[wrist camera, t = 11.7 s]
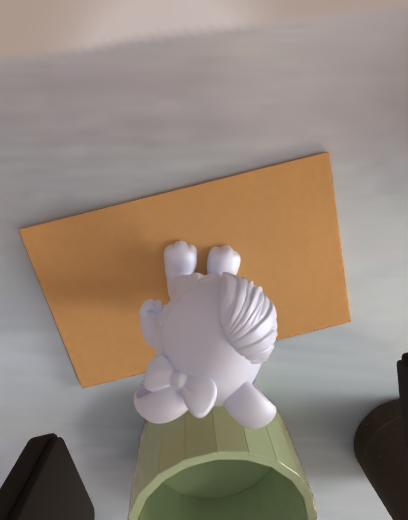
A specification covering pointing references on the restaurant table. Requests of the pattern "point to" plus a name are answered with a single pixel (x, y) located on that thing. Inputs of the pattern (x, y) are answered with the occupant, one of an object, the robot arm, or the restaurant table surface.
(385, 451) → the container
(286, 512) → the green bowl
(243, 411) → the toy figurine
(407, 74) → the restaurant table surface
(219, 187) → the mat
